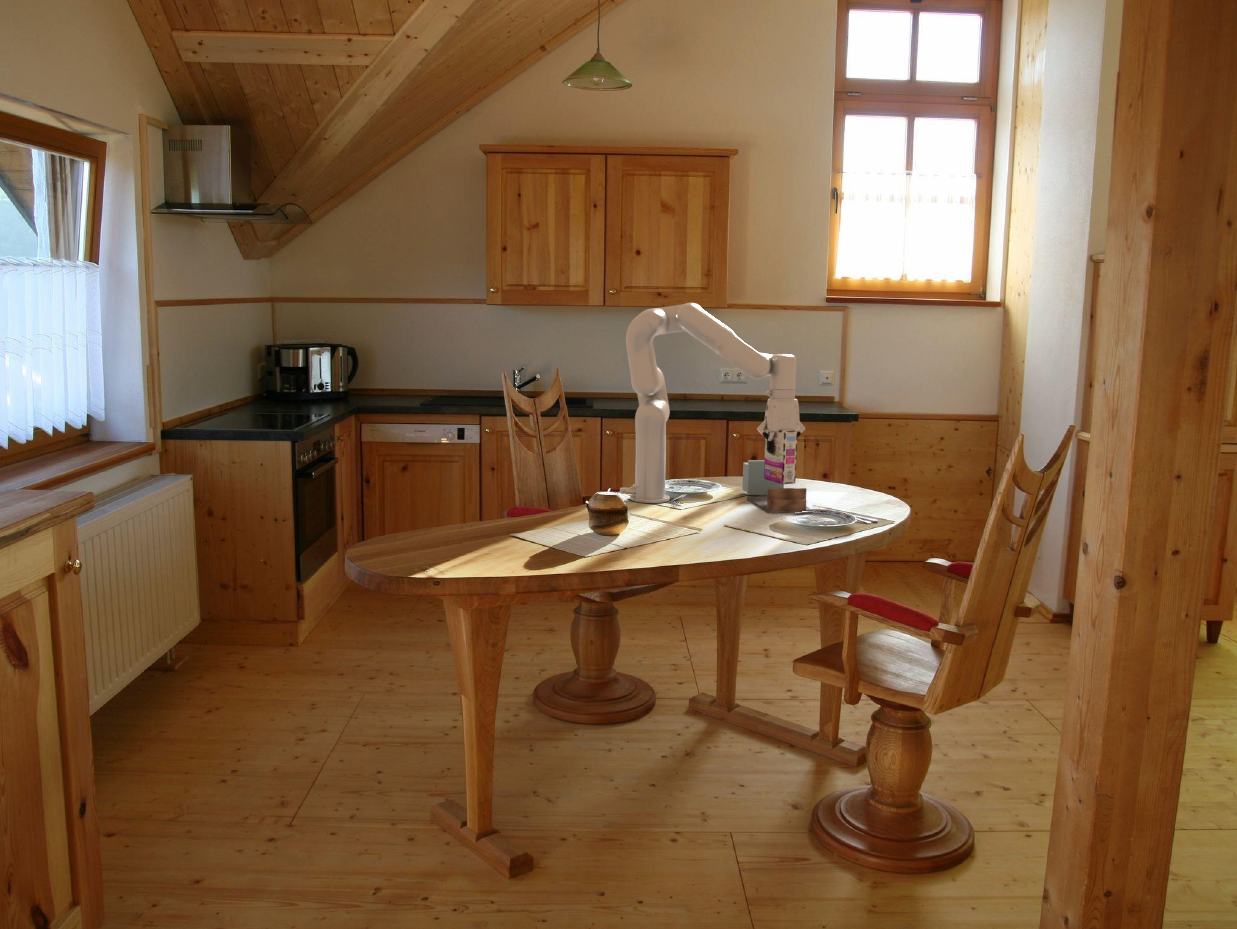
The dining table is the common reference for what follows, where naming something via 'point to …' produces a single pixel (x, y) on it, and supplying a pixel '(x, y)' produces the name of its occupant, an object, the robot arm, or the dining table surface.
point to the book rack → (782, 500)
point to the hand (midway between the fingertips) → (780, 452)
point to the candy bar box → (781, 458)
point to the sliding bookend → (756, 479)
